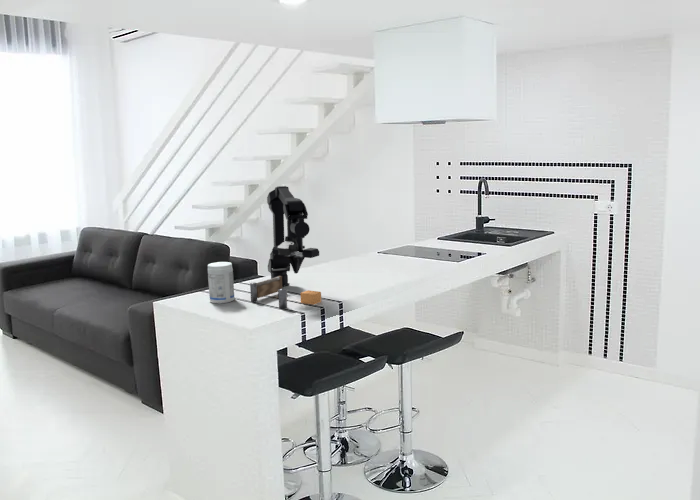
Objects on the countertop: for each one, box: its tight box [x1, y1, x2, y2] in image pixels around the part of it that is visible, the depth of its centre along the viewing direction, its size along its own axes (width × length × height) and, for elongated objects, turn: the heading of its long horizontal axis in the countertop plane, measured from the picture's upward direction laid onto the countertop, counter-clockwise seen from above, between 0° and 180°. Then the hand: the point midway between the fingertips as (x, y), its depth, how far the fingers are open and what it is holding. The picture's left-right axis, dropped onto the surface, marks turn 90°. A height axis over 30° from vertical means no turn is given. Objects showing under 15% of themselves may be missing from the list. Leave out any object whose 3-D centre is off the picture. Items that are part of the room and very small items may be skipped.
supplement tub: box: [207, 261, 235, 304], centre depth 254 cm, size 10×10×15 cm
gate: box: [255, 276, 283, 299], centre depth 260 cm, size 15×1×6 cm, turn 148°
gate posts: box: [249, 282, 288, 310], centre depth 247 cm, size 19×3×7 cm, turn 48°
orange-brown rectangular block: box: [300, 290, 322, 306], centre depth 250 cm, size 6×5×4 cm
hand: (296, 273), depth 252 cm, fingers closed
